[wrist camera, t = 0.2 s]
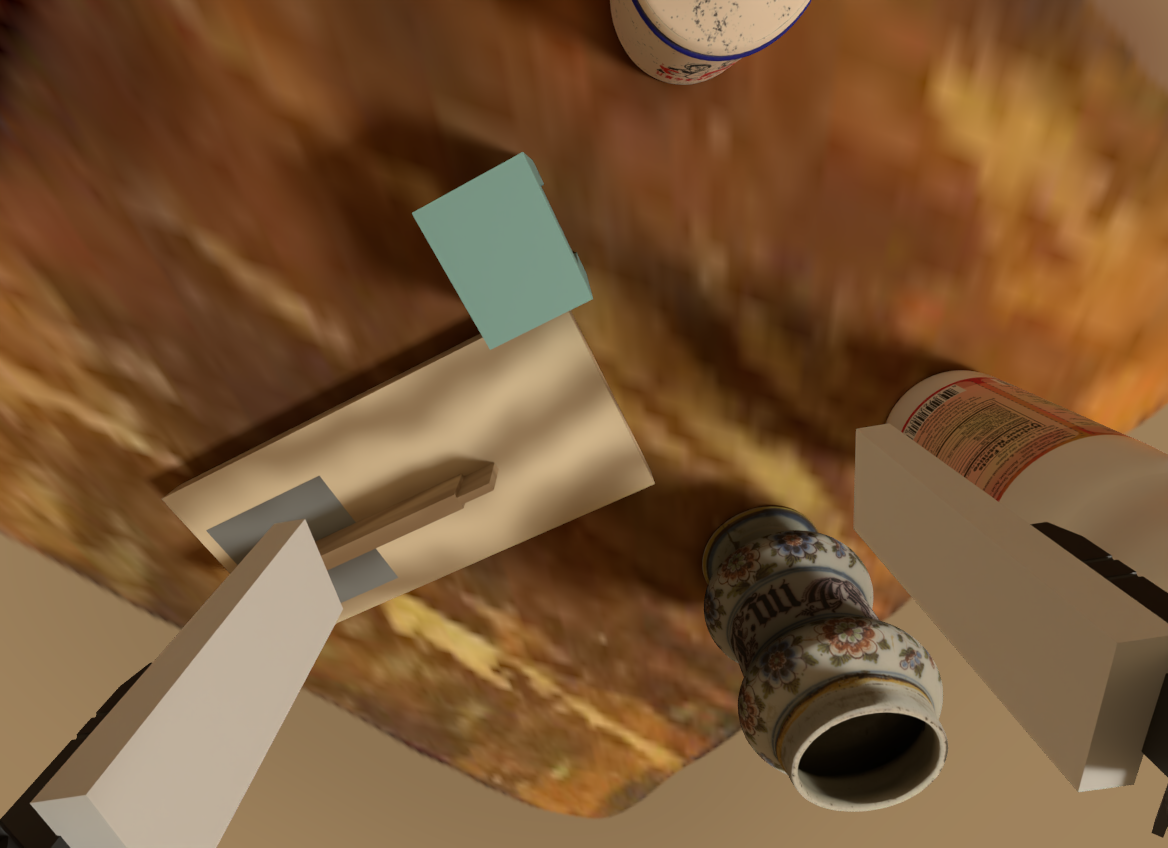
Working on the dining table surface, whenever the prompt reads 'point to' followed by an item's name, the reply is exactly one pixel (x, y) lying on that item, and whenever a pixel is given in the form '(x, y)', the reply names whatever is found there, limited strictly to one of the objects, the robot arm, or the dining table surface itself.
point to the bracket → (505, 251)
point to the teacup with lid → (699, 33)
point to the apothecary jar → (821, 664)
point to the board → (431, 466)
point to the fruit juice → (1046, 463)
